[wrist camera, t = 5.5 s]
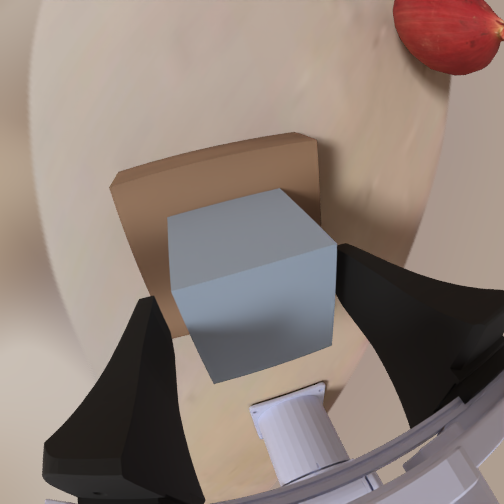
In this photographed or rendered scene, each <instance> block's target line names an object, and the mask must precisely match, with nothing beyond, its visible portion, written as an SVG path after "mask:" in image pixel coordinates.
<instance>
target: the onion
mask: <svg viewBox="0 0 504 504" xmlns="http://www.w3.org/2000/svg"><path fill="white" fill-rule="evenodd" d="M393 16H394V23H395V27H396V29H397V32H398V34H399V37H400V39H401V40H402V42H403V43H404V45H405V46H406V47H407V49H408V50H409V52H410V53H411V54H412V55H414V56H415V57H416V58H417V59H418V60H419V61H421V62H422V63H423V64H425V65H426V66H428V67H429V68H430V69H433V70H436V71H440V72H443V73H447V74H451V75H466V74H469V73H472V72H475V71H478V70H481V69H483V68H485V67H486V66H488V64H489V63H490V62H491V61H492V59H493V58H494V56H495V55H496V53H497V51H498V49H499V46H500V42H501V41H504V21H503V20H502V19H501V18H499V17H498V16H497V15H496V14H495V13H494V11H493V10H492V9H491V7H490V6H489V5H488V4H487V3H486V2H485V1H484V0H395V1H394V7H393Z"/></svg>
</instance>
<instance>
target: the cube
mask: <svg viewBox="0 0 504 504" xmlns="http://www.w3.org/2000/svg"><path fill="white" fill-rule="evenodd" d="M167 222H168V249H169V267H170V282H171V292H172V295H173V297H174V299H175V302H176V304H177V306H178V309H179V311H180V313H181V316H182V318H183V320H184V322H185V325H186V327H187V329H188V331H189V334H190V336H191V338H192V340H193V342H194V344H195V346H196V349H197V351H198V353H199V355H200V357H201V359H202V361H203V363H204V365H205V367H206V369H207V371H208V373H209V375H210V377H211V379H212V381H213V383H214V384H216V383H220V382H223V381H227V380H231V379H234V378H238V377H241V376H244V375H248V374H251V373H254V372H258V371H261V370H264V369H267V368H270V367H273V366H276V365H279V364H282V363H285V362H288V361H291V360H294V359H297V358H300V357H302V356H305V355H308V354H311V353H313V352H316V351H319V350H321V349H324V348H326V347H329V346H332V335H333V322H334V307H335V289H336V262H337V243H336V242H335V241H334V240H333V239H332V238H331V237H330V236H329V235H328V234H327V233H326V232H325V231H324V230H323V229H322V228H321V227H320V226H319V225H318V224H317V223H316V222H315V221H314V220H313V219H312V218H311V217H310V216H309V215H308V214H307V213H305V212H304V211H303V210H302V209H301V208H300V207H299V206H298V205H297V204H296V203H295V202H294V201H293V200H292V199H291V198H290V197H289V196H288V195H287V194H286V193H284V192H283V191H282V190H281V189H280V188H278V189H274V190H270V191H265V192H261V193H257V194H253V195H249V196H245V197H241V198H237V199H233V200H229V201H225V202H221V203H217V204H213V205H210V206H206V207H202V208H198V209H195V210H191V211H188V212H184V213H180V214H177V215H173V216H170V217H167Z"/></svg>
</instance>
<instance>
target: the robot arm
mask: <svg viewBox="0 0 504 504" xmlns="http://www.w3.org/2000/svg"><path fill="white" fill-rule="evenodd" d="M335 293H336V295H337V297H338V299H339V301H340V302H341V304H342V306H343V307H344V308H345V310H346V311H347V312H348V314H349V315H350V316H351V318H352V319H353V320H354V322H355V323H356V324H357V326H358V327H359V328H360V330H361V331H362V332H363V334H364V335H365V336H366V338H367V339H368V340H369V342H370V343H371V345H372V346H373V348H374V349H375V351H376V353H377V354H378V356H379V358H380V360H381V361H382V363H383V365H384V367H385V369H386V371H387V373H388V375H389V377H390V379H391V381H392V383H393V385H394V387H395V389H396V392H397V394H398V396H399V399H400V401H401V403H402V406H403V408H404V411H405V414H406V417H407V420H408V423H409V426H410V428H411V429H410V430H408V431H407V432H405V433H403V434H402V435H400V436H398V437H397V438H395V439H393V440H391V441H389V442H388V443H386V444H384V445H382V446H380V447H378V448H376V449H374V450H373V451H371V452H369V453H367V454H364V455H362V456H360V457H358V458H356V459H351V460H350V458H349V456H348V454H347V452H346V450H345V448H344V446H343V444H342V442H341V440H340V438H339V436H338V434H337V432H336V430H335V428H334V426H333V425H332V423H331V420H330V419H329V417H328V415H327V413H326V411H325V409H324V407H323V400H324V392H325V384H324V383H323V382H321V383H318V384H315V385H313V386H310V387H307V388H305V389H302V390H299V391H296V392H293V393H290V394H287V395H284V396H281V397H278V398H275V399H272V400H269V401H266V402H262V403H259V404H256V405H252V406H251V407H250V408H249V410H250V413H251V416H252V419H253V421H254V424H255V427H256V430H257V433H258V435H259V438H260V439H264V442H265V445H266V447H267V450H268V453H269V456H270V458H271V461H272V464H273V467H274V469H275V472H276V475H277V477H278V480H279V483H280V485H281V487H280V488H277V489H274V490H270V491H267V492H263V493H259V494H255V495H251V496H247V497H242V498H238V499H233V500H228V501H223V502H217V503H212V504H499V503H498V501H497V499H496V497H495V496H494V494H493V492H492V490H491V489H490V487H489V485H488V484H487V482H486V480H485V479H484V477H483V476H482V474H481V472H480V471H479V469H478V467H479V466H480V465H481V464H482V463H483V461H485V460H486V459H487V458H488V456H489V455H490V454H491V453H492V452H493V451H494V450H495V449H496V448H497V447H498V446H499V444H500V443H501V442H502V441H503V440H504V336H503V333H504V290H494V289H480V288H473V287H466V286H460V285H455V284H451V283H447V282H442V281H439V280H435V279H432V278H429V277H426V276H423V275H420V274H417V273H414V272H412V271H409V270H407V269H404V268H402V267H399V266H397V265H394V264H392V263H390V262H387V261H385V260H383V259H381V258H379V257H376V256H374V255H372V254H370V253H368V252H365V251H363V250H361V249H359V248H357V247H354V246H352V245H349V244H346V243H345V244H341V245H338V246H337V262H336V289H335ZM437 433H438V435H437V437H436V438H434V439H433V440H432V441H430V442H429V443H428V444H427V445H425V446H424V447H422V448H421V449H420V450H419V452H418V453H417V454H415V455H414V456H413V457H412V458H411V459H409V460H408V461H407V462H405V463H404V464H403V468H404V469H405V471H406V473H404V474H403V475H401V476H399V477H397V478H396V479H394V480H392V481H390V482H388V483H387V484H385V485H383V483H382V481H381V479H380V478H379V476H378V475H377V473H376V471H377V470H378V469H380V468H382V467H384V466H386V465H388V464H390V463H391V462H393V461H395V460H397V459H398V458H400V457H402V456H403V455H405V454H407V453H408V452H410V451H412V450H413V449H415V448H416V447H418V446H420V445H421V444H423V443H424V442H426V441H427V440H428V439H430V438H432V437H433V436H434V435H436V434H437ZM43 453H44V454H43V471H42V476H43V479H44V480H45V481H46V482H47V483H49V484H50V485H52V486H54V487H56V488H58V489H60V490H62V491H64V492H66V493H69V494H71V495H74V496H76V497H78V504H204V502H205V498H204V495H203V492H202V490H201V487H200V484H199V482H198V479H197V476H196V473H195V470H194V467H193V463H192V460H191V457H190V453H189V450H188V446H187V442H186V438H185V434H184V430H183V426H182V421H181V417H180V411H179V404H178V394H177V380H176V366H175V353H174V347H173V342H172V336H171V332H170V329H169V327H168V325H167V323H166V321H165V319H164V317H163V314H162V312H161V310H160V308H159V305H158V303H157V301H156V299H155V296H150V297H146V298H142V299H139V301H138V303H137V305H136V307H135V309H134V311H133V314H132V316H131V318H130V320H129V322H128V325H127V327H126V329H125V331H124V333H123V335H122V337H121V340H120V342H119V344H118V346H117V348H116V350H115V351H114V353H113V355H112V357H111V359H110V361H109V363H108V365H107V366H106V368H105V370H104V371H103V373H102V375H101V376H100V378H99V379H98V381H97V382H96V384H95V385H94V387H93V388H92V390H91V391H90V392H89V394H88V395H87V396H86V398H85V399H84V400H83V402H82V403H81V405H80V406H79V407H78V408H77V409H76V410H75V412H74V413H73V414H72V415H71V416H70V417H69V419H68V420H67V421H66V422H65V423H64V424H63V425H62V426H61V427H60V428H59V429H58V430H57V431H56V432H55V433H54V434H53V435H52V436H51V437H50V438H49V439H48V440H47V441H46V442H45V443H44V452H43ZM45 504H75V503H71V502H64V501H57V500H50V499H46V500H45Z"/></svg>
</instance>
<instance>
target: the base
mask: <svg viewBox="0 0 504 504" xmlns="http://www.w3.org/2000/svg"><path fill="white" fill-rule="evenodd" d="M109 188H110V191H111V194H112V197H113V200H114V203H115V206H116V209H117V212H118V215H119V218H120V221H121V223H122V226H123V229H124V232H125V234H126V237H127V240H128V242H129V245H130V248H131V250H132V253H133V255H134V258H135V260H136V263H137V265H138V268H139V270H140V272H141V275H142V277H143V279H144V282H145V284H146V286H147V289H148V291H149V293H150V296H155V299H156V301H157V303H158V305H159V308H160V310H161V312H162V314H163V317H164V319H165V321H166V323H167V325H168V327H169V329H170V332H171V336H172V339H173V338H177V337H181V336H185V335H189V331H188V329H187V327H186V325H185V322H184V320H183V318H182V316H181V313H180V311H179V309H178V306H177V304H176V302H175V299H174V297H173V295H172V292H171V282H170V267H169V249H168V222H167V217H170V216H173V215H177V214H180V213H184V212H188V211H191V210H195V209H198V208H202V207H206V206H210V205H213V204H217V203H221V202H225V201H229V200H233V199H237V198H241V197H245V196H249V195H253V194H257V193H261V192H265V191H270V190H274V189H278V188H280V189H281V190H282V191H283V192H284V193H286V194H287V195H288V196H289V197H290V198H291V199H292V200H293V201H294V202H295V203H296V204H297V205H298V206H299V207H300V208H301V209H302V210H303V211H304V212H305V213H307V214H308V215H309V216H310V217H311V218H312V219H313V220H314V221H315V222H316V223H317V224H318V225H319V226H320V227H321V213H320V186H319V167H318V151H317V140H315V139H313V138H310V137H307V136H305V135H302V134H299V133H296V132H291V133H284V134H278V135H272V136H265V137H260V138H254V139H248V140H243V141H238V142H233V143H228V144H223V145H218V146H214V147H209V148H205V149H200V150H196V151H192V152H188V153H184V154H180V155H176V156H172V157H168V158H164V159H161V160H157V161H154V162H150V163H147V164H143V165H140V166H136V167H133V168H130V169H127V170H123V171H120V172H118V174H117V175H116V177H115V179H114V180H113V182H112V184H111V185H110V187H109Z"/></svg>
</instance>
